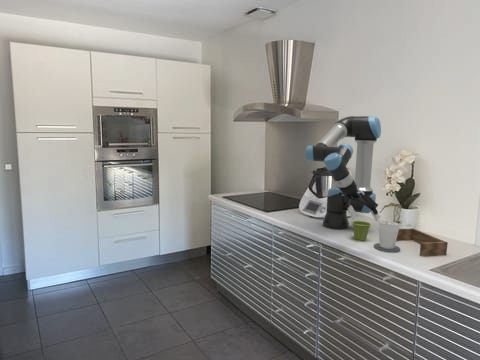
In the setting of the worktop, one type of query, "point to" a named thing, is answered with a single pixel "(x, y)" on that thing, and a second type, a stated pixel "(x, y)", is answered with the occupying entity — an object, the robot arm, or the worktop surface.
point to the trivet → (377, 246)
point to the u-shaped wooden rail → (424, 242)
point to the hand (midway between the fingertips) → (366, 218)
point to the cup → (388, 234)
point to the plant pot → (360, 230)
